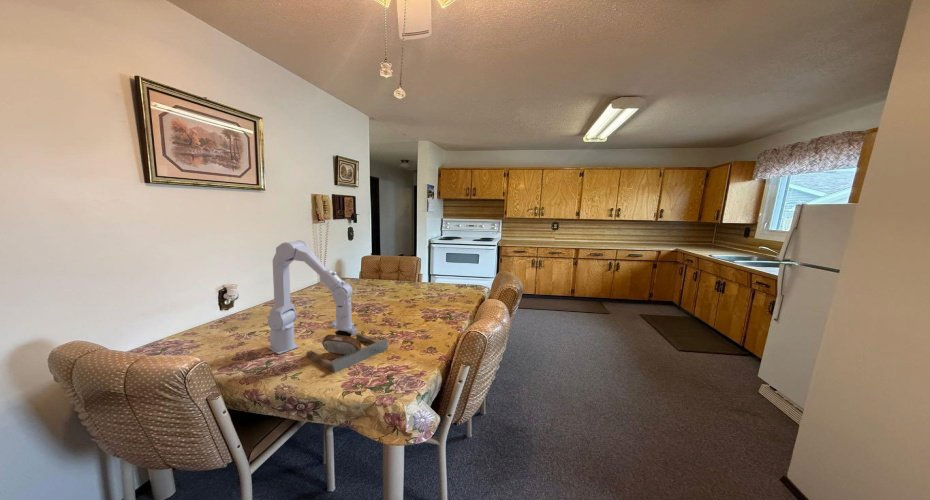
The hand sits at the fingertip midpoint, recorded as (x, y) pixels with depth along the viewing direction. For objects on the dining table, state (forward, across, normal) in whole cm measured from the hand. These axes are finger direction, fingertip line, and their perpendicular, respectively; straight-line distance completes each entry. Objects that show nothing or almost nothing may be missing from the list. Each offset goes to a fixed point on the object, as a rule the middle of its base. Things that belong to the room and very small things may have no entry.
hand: (344, 347), depth 120 cm
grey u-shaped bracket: (+1, -2, 0) cm, 2 cm away
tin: (+1, -2, +2) cm, 3 cm away
